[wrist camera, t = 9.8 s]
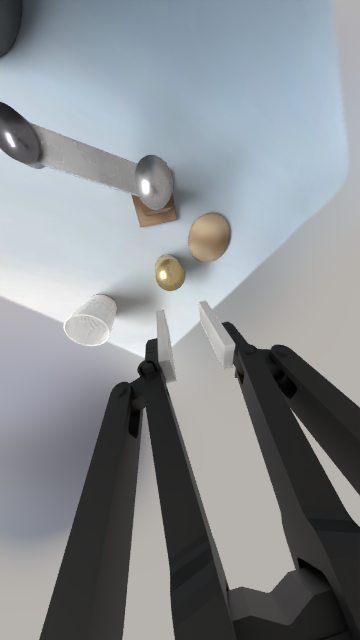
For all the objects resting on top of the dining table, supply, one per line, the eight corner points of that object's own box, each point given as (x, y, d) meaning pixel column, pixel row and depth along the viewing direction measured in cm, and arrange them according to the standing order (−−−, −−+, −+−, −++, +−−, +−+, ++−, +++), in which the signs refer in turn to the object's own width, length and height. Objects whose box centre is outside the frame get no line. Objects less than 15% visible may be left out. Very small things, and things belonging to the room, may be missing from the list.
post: (126, 176, 23) (112, 150, 15) (168, 168, 23) (177, 139, 15) (140, 227, 27) (135, 228, 19) (175, 220, 27) (185, 218, 19)
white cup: (118, 293, 34) (107, 315, 25) (120, 319, 38) (112, 346, 30) (81, 290, 32) (57, 313, 24) (88, 318, 36) (70, 346, 28)
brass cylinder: (152, 257, 30) (152, 265, 25) (177, 252, 30) (182, 258, 25) (158, 281, 34) (159, 293, 28) (181, 276, 34) (186, 287, 28)
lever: (173, 171, 16) (176, 164, 14) (167, 213, 18) (169, 212, 16) (-3, 102, 12) (-34, 78, 10) (15, 167, 14) (-7, 158, 12)
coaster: (185, 218, 27) (186, 218, 27) (229, 209, 28) (230, 209, 27) (190, 265, 32) (191, 265, 32) (227, 257, 33) (228, 257, 32)
